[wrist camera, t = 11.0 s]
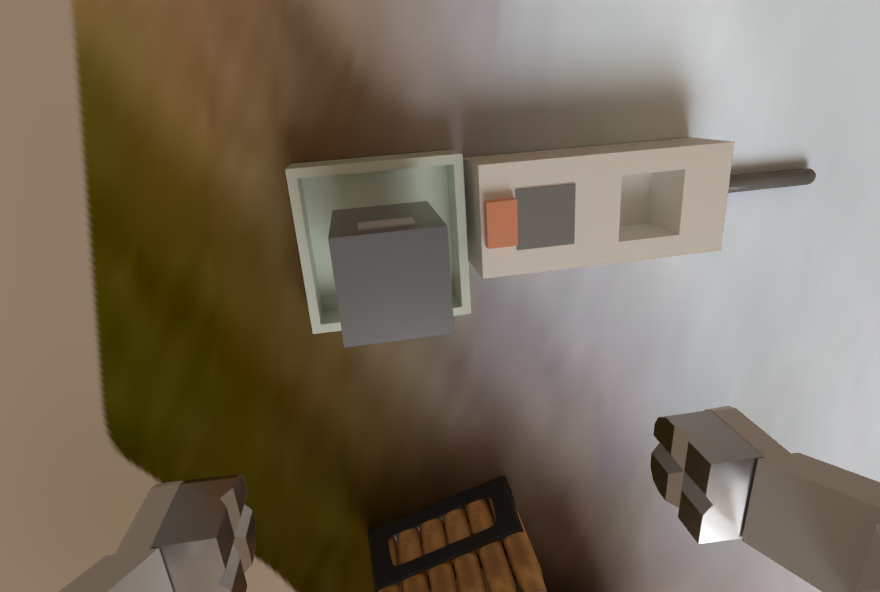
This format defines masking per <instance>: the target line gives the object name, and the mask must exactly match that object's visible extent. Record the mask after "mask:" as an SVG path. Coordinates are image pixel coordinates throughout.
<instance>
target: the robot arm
mask: <svg viewBox="0 0 880 592" xmlns="http://www.w3.org/2000/svg"><path fill="white" fill-rule="evenodd" d="M654 436H655V437H656V438H657V440H658V441H659V442H660V443H659V444H658V446H657V447H656V448H655V449H654V451H653V452H652V454H651V471H652V475H653V480H654V482H655V485H656V487H657V489H658V491H659V492H660V494H661V495H662V496H663V498H664V499H665V500H666V501H668V502H669V503H671V504H673V505H675V506H677V507H679V514H678V518H679V519H680V520H681V522H682V523H683V524H684V526H685V527H686V528H687V530H688V531H689V532H690V534H691V535H692V536H693V538H694V539H695V540H696V541H697V543H698V544H702V543H710V542H717V541H724V540H732V539H739V538H742V541H743V542H745V543H746V544H748V545H750V546H751V547H753V548H754V549H756V550H757V551H759V552H761V553H762V554H764V555H765V556H767V557H768V558H770V559H772V560H773V561H775V562H776V563H778V564H780V565H781V566H783V567H784V568H786V569H787V570H789V571H791V572H792V573H794V574H795V575H797V576H798V577H800V578H802V579H803V580H805V581H806V582H808V583H810V584H811V585H813V586H814V587H816V588H817V589H819V590H821V591H822V592H880V482H877V481H875V480H872V479H869V478H866V477H864V476H861V475H858V474H855V473H853V472H850V471H847V470H844V469H842V468H839V467H836V466H834V465H831V464H828V463H825V462H823V461H820V460H817V459H814V458H812V457H809V456H806V455H803V454H801V453H792V454H791V453H790V452H788V451H787V450H786V449H785V448H783V447H782V446H781V445H780V444H779V443H777V442H776V441H775V440H774V439H773V438H771V437H770V436H769V435H768V434H767V433H765V432H764V431H763V430H762V429H760V428H759V427H758V426H757V425H756V424H754V423H753V422H752V421H751V420H750V419H748V418H747V417H746V416H745V415H744V414H742V413H741V412H740V411H739V410H737V409H736V408H733V407H730V406H725V407H719V408H713V409H707V410H705V411H699V412H692V413H685V414H678V415H671V416H664V417H658V419H657V421H656V423H655V427H654ZM247 492H248V490H247V487H246V483H245V480H244V477H243V476H242V475H241V474H235V475H226V476H218V477H209V478H200V479H191V480H185V481H176V482H168V483H161V484H156V485H155V486H153V487H152V488H151V489H150V490H149V492H148V494H147V496H146V497H145V499H144V501H143V503H142V505H141V507H140V509H139V511H138V512H137V514H136V516H135V518H134V520H133V522H132V523H131V525H130V527H129V529H128V531H127V533H126V534H125V536H124V538H123V540H122V542H121V544H120V546H119V548H118V549H117V551H116V553H115V554H114V555H107V556H105V557H103V558H102V559H101V560H99V561H98V562H97V563H95V564H94V565H93V566H92V567H90V568H89V569H88V570H86V571H85V572H84V573H82V574H81V575H80V576H79V577H77V578H76V579H75V580H73V581H72V582H71V583H69V584H68V585H67V586H66V587H64V588H63V589H62V590H60V591H59V592H246V589H247V583H246V579H245V575H244V572H245V571H246V570H247V569H248V568H249V567H250V566H251V565H252V562H253V558H254V553H255V543H256V529H255V520H254V516H253V511H252V510H251V509H250V508H248V507H247V506H246V505H244V503H245V500H246V496H247Z"/></svg>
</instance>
